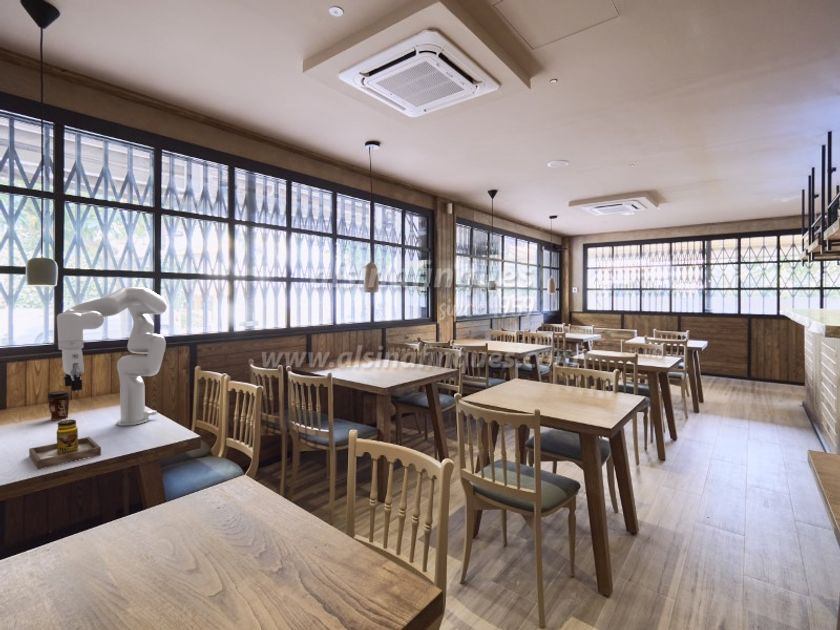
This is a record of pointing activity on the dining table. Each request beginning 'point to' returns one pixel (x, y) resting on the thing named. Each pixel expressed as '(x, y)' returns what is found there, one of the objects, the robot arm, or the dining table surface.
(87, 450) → the tray
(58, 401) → the coffee cup
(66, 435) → the condiment
